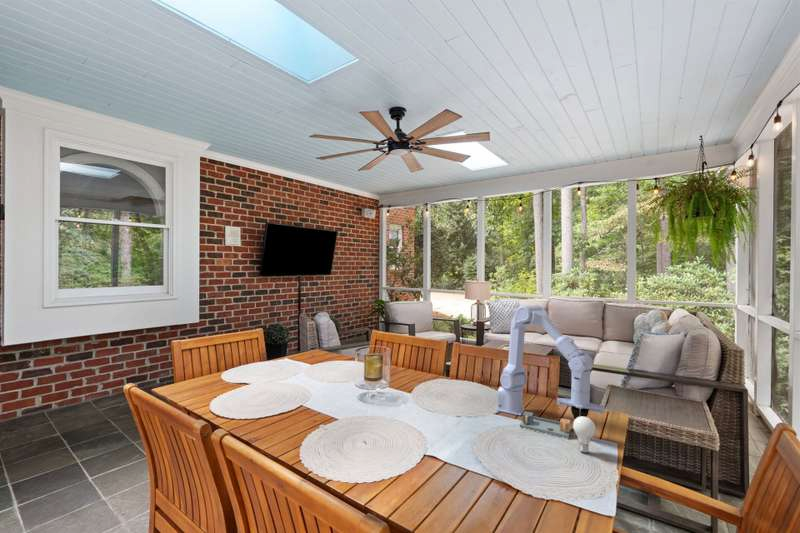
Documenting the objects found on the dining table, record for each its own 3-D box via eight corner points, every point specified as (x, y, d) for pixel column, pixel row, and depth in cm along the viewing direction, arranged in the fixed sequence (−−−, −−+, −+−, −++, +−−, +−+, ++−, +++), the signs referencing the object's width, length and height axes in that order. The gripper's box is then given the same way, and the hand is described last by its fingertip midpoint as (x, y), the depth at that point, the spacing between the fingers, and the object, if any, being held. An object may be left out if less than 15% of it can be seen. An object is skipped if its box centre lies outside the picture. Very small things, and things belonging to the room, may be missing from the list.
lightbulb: (593, 449, 116) (593, 414, 116) (596, 458, 110) (597, 422, 110) (571, 445, 118) (572, 411, 118) (573, 454, 112) (574, 419, 112)
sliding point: (559, 431, 125) (559, 422, 125) (561, 426, 129) (561, 418, 129) (568, 433, 124) (569, 424, 124) (570, 428, 128) (570, 420, 128)
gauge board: (519, 427, 131) (520, 416, 131) (525, 418, 139) (525, 407, 139) (568, 439, 123) (568, 426, 123) (571, 428, 131) (571, 416, 131)
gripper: (556, 388, 125) (555, 428, 125) (604, 397, 118) (603, 439, 117) (558, 383, 131) (557, 421, 131) (604, 391, 124) (603, 431, 123)
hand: (579, 429), depth 124 cm, fingers closed
